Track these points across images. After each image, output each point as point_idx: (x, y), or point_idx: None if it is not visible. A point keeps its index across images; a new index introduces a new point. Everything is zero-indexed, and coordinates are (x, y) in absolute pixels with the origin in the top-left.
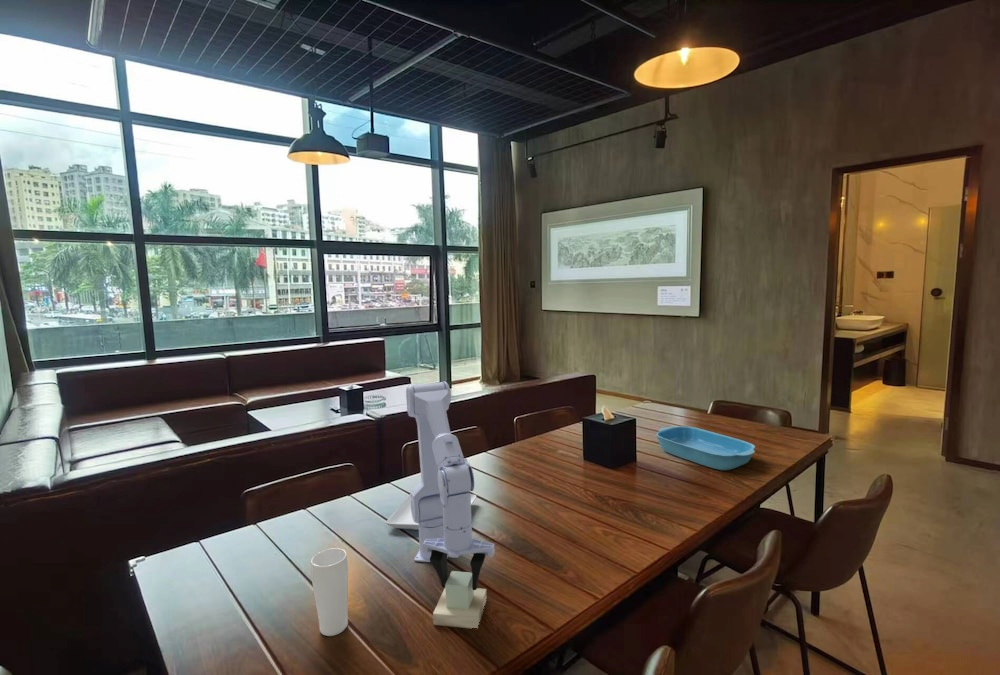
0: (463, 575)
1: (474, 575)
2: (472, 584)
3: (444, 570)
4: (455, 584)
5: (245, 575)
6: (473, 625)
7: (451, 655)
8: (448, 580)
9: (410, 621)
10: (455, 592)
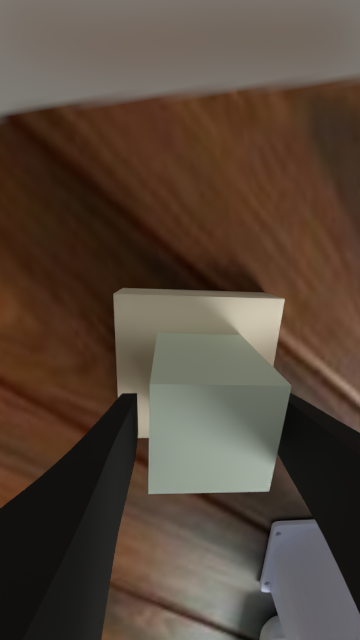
0: (197, 468)
1: (86, 460)
2: (128, 409)
3: (335, 483)
4: (229, 392)
5: None
6: (133, 289)
7: (179, 153)
8: (277, 419)
9: (336, 298)
10: (218, 363)
